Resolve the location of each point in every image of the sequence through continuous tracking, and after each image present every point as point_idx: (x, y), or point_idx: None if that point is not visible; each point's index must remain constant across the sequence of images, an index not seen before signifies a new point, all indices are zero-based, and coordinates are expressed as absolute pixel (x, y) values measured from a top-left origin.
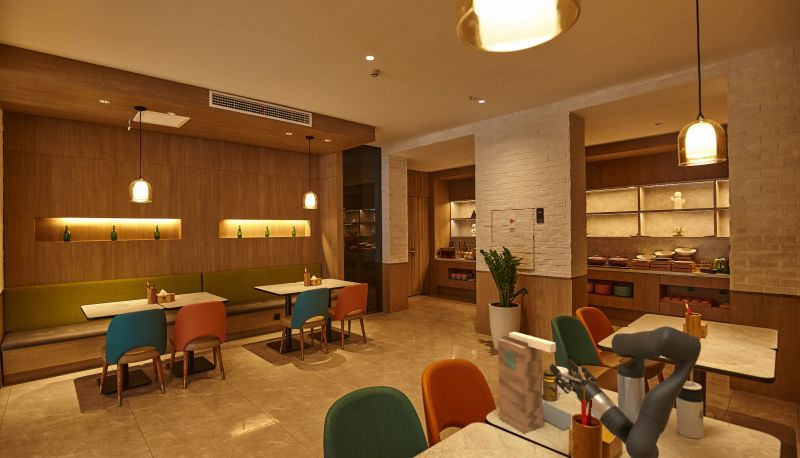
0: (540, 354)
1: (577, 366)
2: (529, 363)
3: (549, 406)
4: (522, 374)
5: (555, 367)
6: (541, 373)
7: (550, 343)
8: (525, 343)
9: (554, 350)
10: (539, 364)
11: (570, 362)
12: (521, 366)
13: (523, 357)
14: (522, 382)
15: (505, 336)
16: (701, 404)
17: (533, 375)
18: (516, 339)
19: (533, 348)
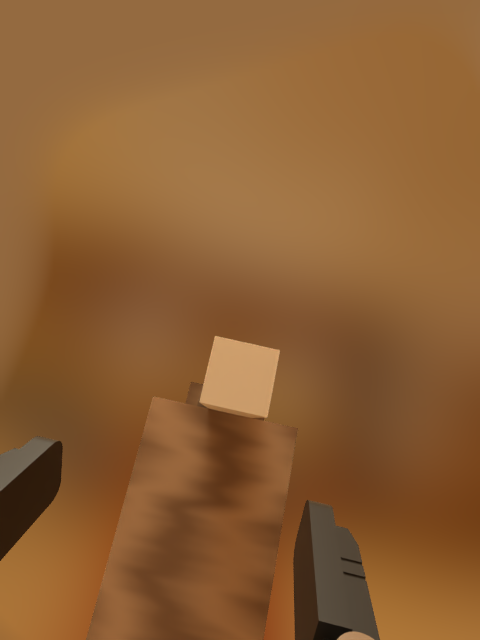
0: (278, 491)
1: (349, 622)
2: (179, 508)
3: None
4: (110, 555)
5: (5, 463)
6: (260, 628)
7: (233, 342)
8: (191, 385)
9: (252, 405)
10: (256, 554)
11: (306, 534)
12: (125, 503)
13: (147, 452)
14: (94, 611)
15: None
16: None
17: (189, 607)
18: None
19: (233, 431)
